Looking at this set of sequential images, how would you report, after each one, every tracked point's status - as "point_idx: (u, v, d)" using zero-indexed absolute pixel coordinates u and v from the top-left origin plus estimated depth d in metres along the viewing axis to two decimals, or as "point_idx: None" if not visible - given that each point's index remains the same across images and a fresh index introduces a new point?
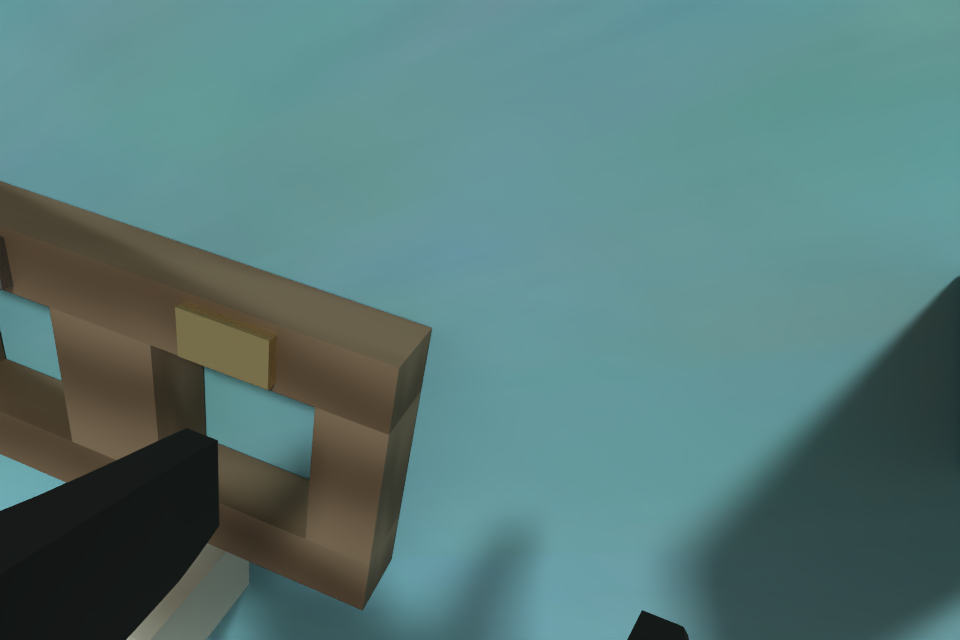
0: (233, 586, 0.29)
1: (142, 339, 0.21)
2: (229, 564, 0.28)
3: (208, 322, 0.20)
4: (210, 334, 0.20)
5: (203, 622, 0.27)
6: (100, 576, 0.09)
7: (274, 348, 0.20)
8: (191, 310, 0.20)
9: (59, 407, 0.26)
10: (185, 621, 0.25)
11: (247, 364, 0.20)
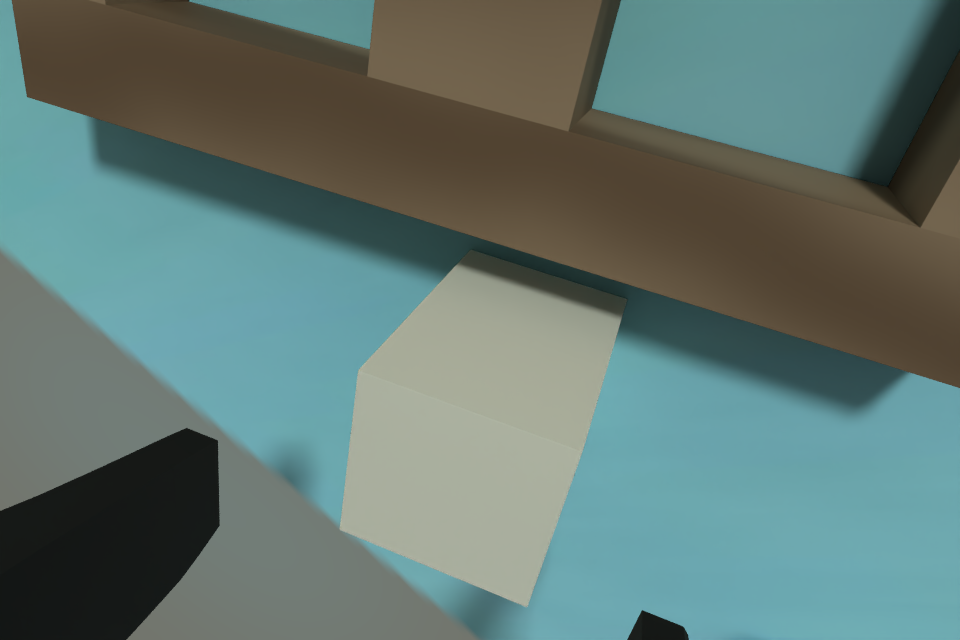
0: None
1: None
2: None
3: None
4: None
5: None
6: (101, 576, 0.09)
7: None
8: None
9: (314, 47, 0.14)
10: None
11: None
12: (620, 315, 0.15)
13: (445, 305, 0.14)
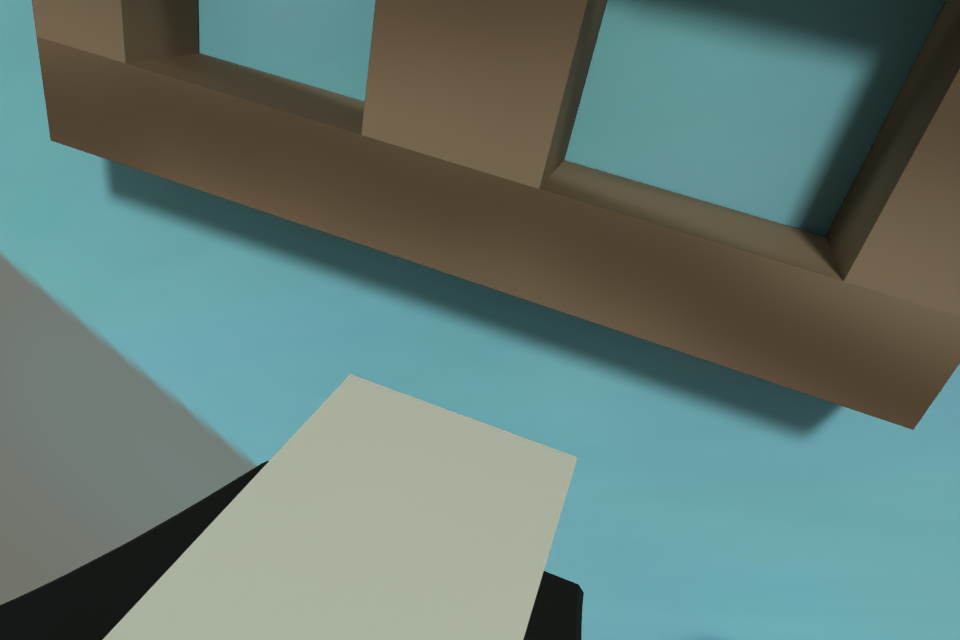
0: None
1: None
2: None
3: None
4: None
5: None
6: None
7: None
8: None
9: (313, 102, 0.15)
10: None
11: None
12: (562, 495, 0.10)
13: (272, 503, 0.09)
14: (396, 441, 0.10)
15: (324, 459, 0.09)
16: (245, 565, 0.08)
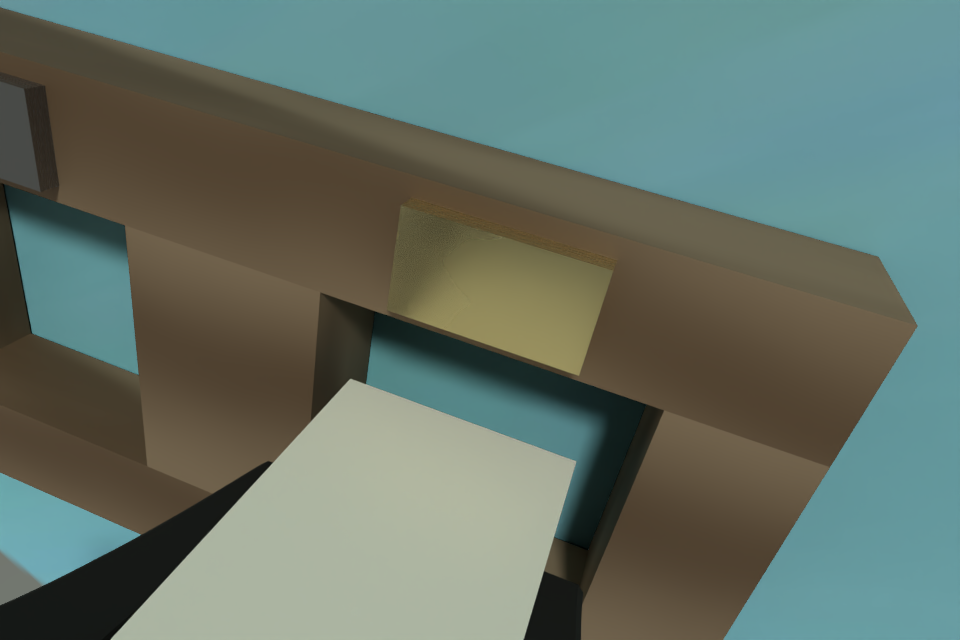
0: None
1: (305, 281, 0.11)
2: None
3: (473, 235, 0.09)
4: (472, 262, 0.10)
5: None
6: None
7: None
8: (434, 212, 0.10)
9: (120, 409, 0.16)
10: None
11: (544, 323, 0.10)
12: (561, 499, 0.10)
13: (273, 508, 0.09)
14: (396, 445, 0.10)
15: (324, 464, 0.09)
16: (246, 570, 0.08)
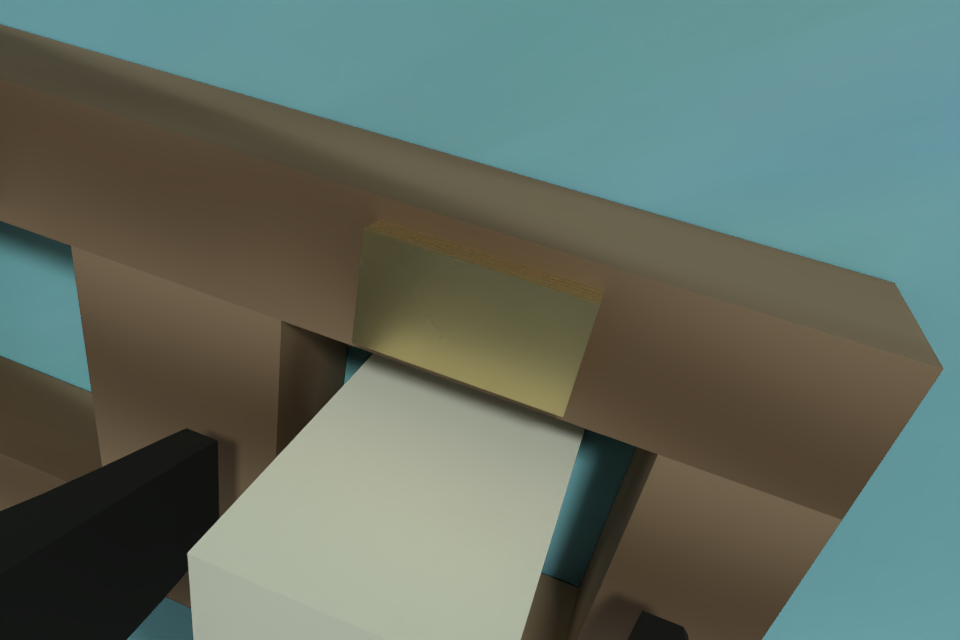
0: None
1: (265, 308, 0.10)
2: None
3: (443, 262, 0.08)
4: (443, 292, 0.09)
5: None
6: (100, 576, 0.09)
7: (593, 323, 0.09)
8: (401, 237, 0.09)
9: (81, 436, 0.15)
10: None
11: (524, 360, 0.09)
12: None
13: (345, 422, 0.10)
14: (441, 378, 0.12)
15: (383, 391, 0.11)
16: (328, 464, 0.09)
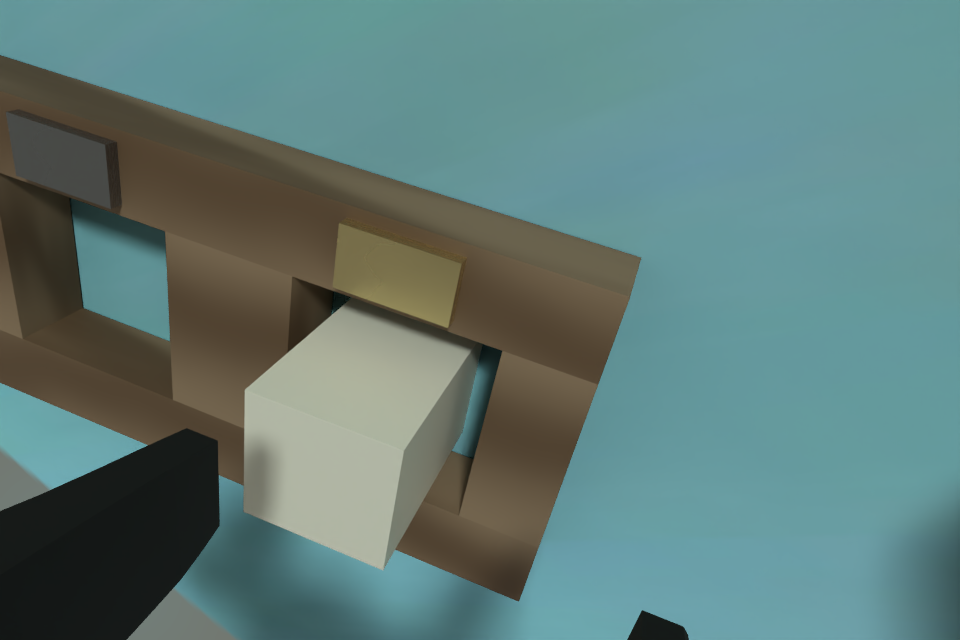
0: (457, 421, 0.20)
1: (282, 269, 0.18)
2: (464, 380, 0.19)
3: (381, 241, 0.16)
4: (381, 257, 0.16)
5: (433, 459, 0.18)
6: (100, 575, 0.09)
7: (462, 275, 0.16)
8: (359, 227, 0.16)
9: (152, 362, 0.23)
10: (428, 442, 0.17)
11: (425, 295, 0.16)
12: (475, 342, 0.19)
13: (328, 336, 0.18)
14: (389, 316, 0.19)
15: (352, 321, 0.18)
16: (318, 356, 0.17)
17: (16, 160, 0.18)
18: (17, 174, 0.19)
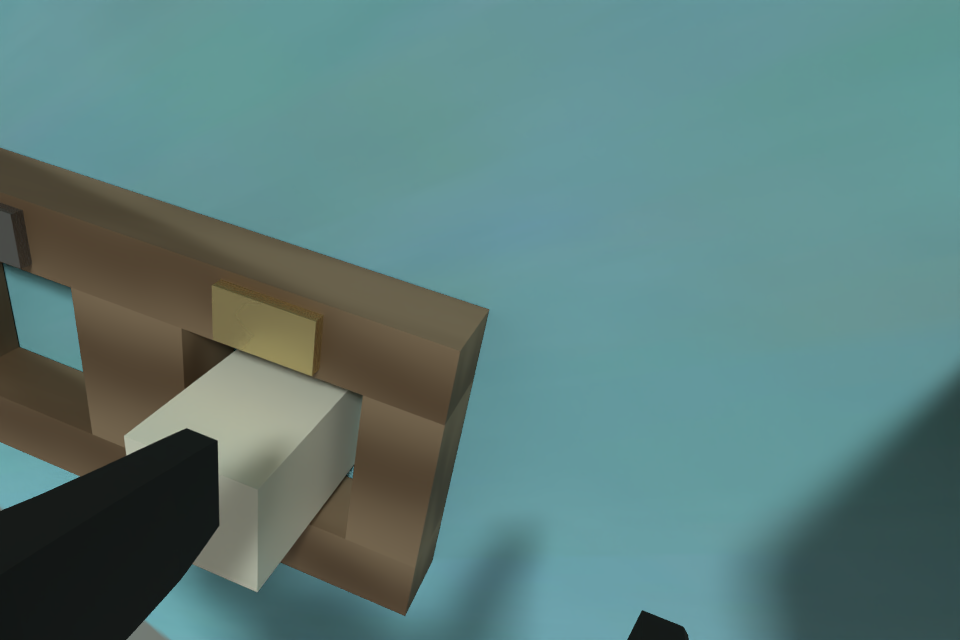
0: (344, 453, 0.22)
1: (173, 322, 0.20)
2: (344, 417, 0.21)
3: (248, 301, 0.18)
4: (250, 315, 0.18)
5: (313, 489, 0.20)
6: (101, 575, 0.09)
7: (320, 330, 0.18)
8: (229, 288, 0.18)
9: (77, 398, 0.25)
10: (297, 477, 0.19)
11: (290, 348, 0.18)
12: None
13: (214, 381, 0.20)
14: None
15: (240, 366, 0.20)
16: (200, 401, 0.19)
17: None
18: None
